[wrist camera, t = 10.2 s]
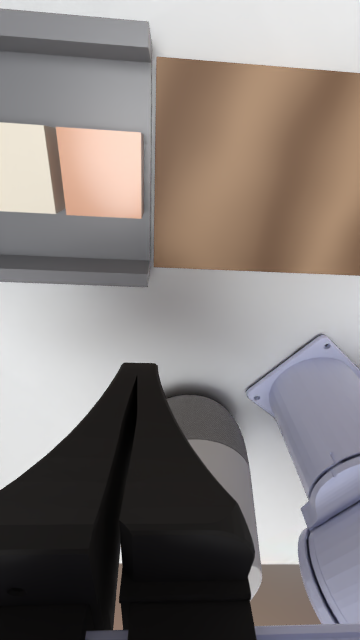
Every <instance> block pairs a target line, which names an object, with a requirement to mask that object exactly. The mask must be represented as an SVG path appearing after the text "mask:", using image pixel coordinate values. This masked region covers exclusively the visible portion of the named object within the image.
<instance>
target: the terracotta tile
mask: <svg viewBox="0 0 360 640" xmlns="http://www.w3.org/2000/svg"><path fill="white" fill-rule="evenodd" d="M56 134H57V142H58V150H59V158H60V166H61V174H62V183H63V191H64V199H65V207H66V215H76V216H96V217H115V218H135V219H142V216H143V214H144V134H142V133H141V132H127V131H112V130H97V129H82V128H67V127H56Z"/></svg>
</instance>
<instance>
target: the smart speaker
mask: <svg viewBox="0 0 360 640" xmlns="http://www.w3.org/2000/svg"><path fill="white" fill-rule="evenodd" d="M167 402H168V404H169V406H170V409H171V411H172V413H173V415H174V417H175V419H176V421H177V423H178V425H179V427H180V428H181V430H182V432H183V434H184V435H185V437H186V439H187V440H188V442H189V443H190V445H191V446H192V448H193V449H194V451H195V452H196V453H197V455H198V456H199V458H200V459H201V460H202V462H203V463H204V464H205V466H206V467H207V469H208V470H209V471H210V472H211V473H212V475H213V476H214V477H215V478H216V479H217V481H218V482H219V483H220V484H221V485H222V486H223V487H224V489H225V490H226V491H227V492H228V493H229V494H230V495H231V496H232V497H233V498H234V499H235V500H236V502H237V503H238V504H239V507H240V509H241V511H242V513H243V515H244V518H245V520H246V523H247V525H248V528H249V531H250V534H251V537H252V540H253V543H254V548H255V559H254V562H253V564H252V567H251V570H250V573H249V576H248V580H249V585H250V590H251V599H252V598H253V596H254V595H255V594H256V592H257V590H258V589H259V586H260V584H261V581H262V571H261V561H260V552H259V544H258V535H257V526H256V518H255V509H254V501H253V492H252V483H251V475H250V468H249V462H248V457H247V451H246V447H245V443H244V439H243V436H242V434H241V431H240V429H239V427H238V425H237V423H236V421H235V420H234V418H233V417H232V415H231V414H230V413H229V412H228V411H227V410H226V409H225V408H224V407H223V406H222V405H220V404H219V403H218V402H216V401H214V400H212V399H209V398H207V397H203V396H198V395H179V396H174V397H171V398H168V399H167Z"/></svg>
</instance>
